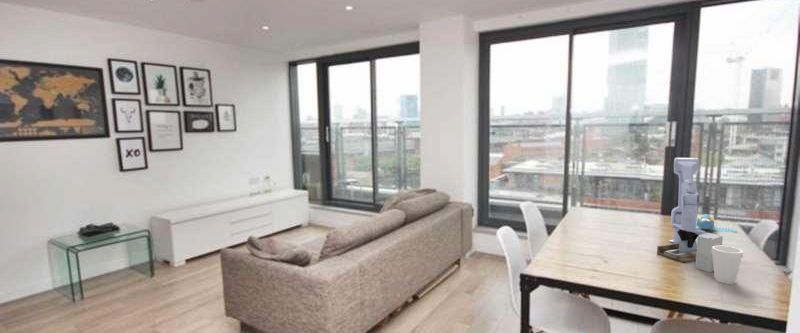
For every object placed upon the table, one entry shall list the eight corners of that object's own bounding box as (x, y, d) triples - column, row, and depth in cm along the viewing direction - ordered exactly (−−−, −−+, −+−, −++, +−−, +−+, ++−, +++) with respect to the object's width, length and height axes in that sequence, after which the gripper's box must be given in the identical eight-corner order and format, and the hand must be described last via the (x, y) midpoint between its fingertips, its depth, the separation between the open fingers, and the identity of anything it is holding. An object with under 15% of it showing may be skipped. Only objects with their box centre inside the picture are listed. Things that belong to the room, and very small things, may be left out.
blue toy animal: (737, 215, 222) (738, 221, 210) (736, 229, 223) (737, 237, 212) (677, 209, 240) (675, 214, 228) (676, 222, 241) (674, 229, 229)
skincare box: (705, 264, 174) (707, 232, 172) (721, 269, 169) (723, 235, 167) (694, 268, 171) (696, 235, 169) (710, 273, 165) (712, 238, 163)
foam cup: (703, 276, 162) (706, 246, 160) (724, 275, 163) (727, 244, 161) (724, 286, 153) (727, 253, 151) (746, 284, 153) (749, 252, 152)
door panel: (691, 251, 188) (692, 239, 187) (695, 252, 186) (696, 240, 185) (678, 253, 186) (679, 241, 185) (682, 254, 184) (683, 242, 183)
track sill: (683, 249, 194) (684, 241, 194) (711, 257, 182) (711, 249, 181) (657, 253, 189) (657, 245, 189) (683, 262, 177) (683, 254, 177)
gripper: (667, 215, 190) (666, 243, 191) (698, 223, 176) (696, 252, 178) (679, 214, 192) (677, 241, 193) (709, 221, 178) (708, 250, 180)
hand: (687, 246), depth 186 cm, fingers closed on door panel, 2 cm apart
